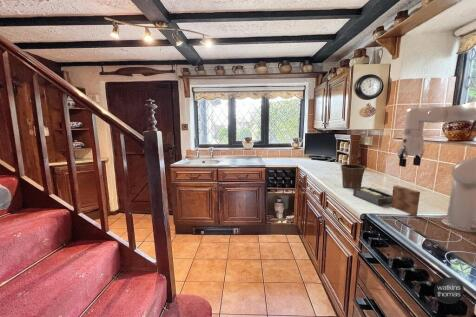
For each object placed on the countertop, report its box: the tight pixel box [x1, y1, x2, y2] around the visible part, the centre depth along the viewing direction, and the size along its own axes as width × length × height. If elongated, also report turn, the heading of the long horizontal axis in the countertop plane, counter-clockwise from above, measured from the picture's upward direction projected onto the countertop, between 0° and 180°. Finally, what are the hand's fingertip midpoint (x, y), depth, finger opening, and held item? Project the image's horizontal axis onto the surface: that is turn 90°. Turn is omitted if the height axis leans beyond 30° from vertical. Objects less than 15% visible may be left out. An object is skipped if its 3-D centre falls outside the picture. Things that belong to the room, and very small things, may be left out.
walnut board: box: [390, 185, 421, 218], centre depth 119 cm, size 12×3×13 cm, turn 15°
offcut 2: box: [369, 192, 382, 198], centre depth 133 cm, size 6×4×5 cm, turn 16°
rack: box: [352, 187, 392, 207], centre depth 136 cm, size 18×14×5 cm
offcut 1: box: [359, 188, 372, 194], centre depth 139 cm, size 6×4×5 cm, turn 15°
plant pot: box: [340, 163, 366, 190], centre depth 163 cm, size 16×16×16 cm
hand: (409, 165), depth 116 cm, fingers open, 9 cm apart
